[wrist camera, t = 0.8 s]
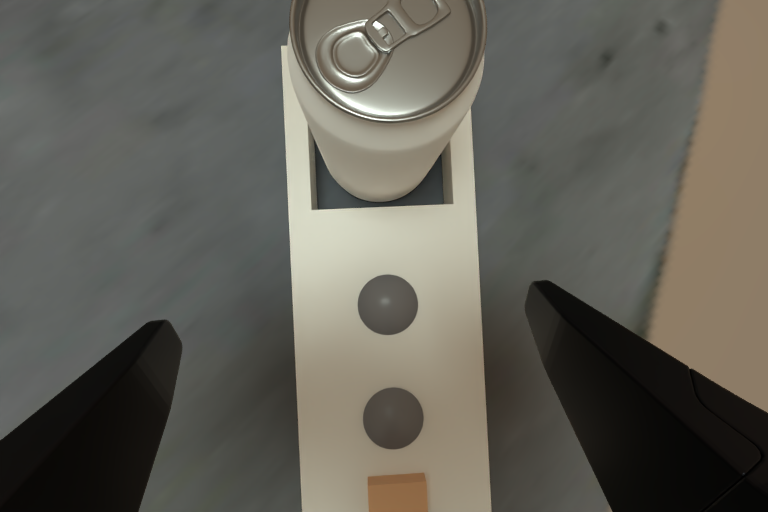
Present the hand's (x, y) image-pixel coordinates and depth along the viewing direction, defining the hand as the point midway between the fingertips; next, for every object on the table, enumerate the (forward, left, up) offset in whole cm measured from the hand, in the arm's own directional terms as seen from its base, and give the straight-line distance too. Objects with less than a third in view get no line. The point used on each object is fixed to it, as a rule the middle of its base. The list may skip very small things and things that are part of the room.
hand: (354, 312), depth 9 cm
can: (+7, -4, -13) cm, 15 cm away
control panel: (0, -1, -13) cm, 13 cm away
